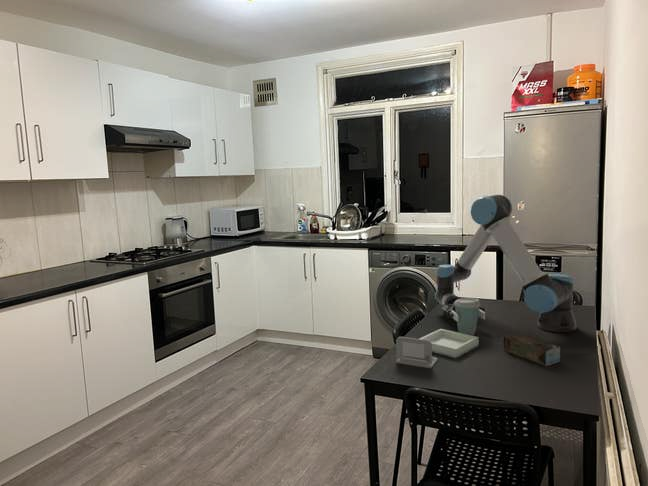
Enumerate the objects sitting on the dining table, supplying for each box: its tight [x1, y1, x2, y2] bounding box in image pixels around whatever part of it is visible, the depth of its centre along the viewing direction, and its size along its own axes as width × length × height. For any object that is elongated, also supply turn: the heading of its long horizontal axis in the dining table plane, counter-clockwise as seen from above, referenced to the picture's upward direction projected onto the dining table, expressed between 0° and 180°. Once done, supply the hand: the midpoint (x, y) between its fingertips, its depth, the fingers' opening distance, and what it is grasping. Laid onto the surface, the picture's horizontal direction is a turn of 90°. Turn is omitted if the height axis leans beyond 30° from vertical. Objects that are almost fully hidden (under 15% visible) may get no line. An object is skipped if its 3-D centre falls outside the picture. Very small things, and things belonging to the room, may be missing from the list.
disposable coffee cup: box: [454, 297, 482, 336], centre depth 207 cm, size 11×11×15 cm
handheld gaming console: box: [395, 336, 438, 369], centre depth 180 cm, size 13×9×10 cm
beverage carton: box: [503, 331, 561, 367], centre depth 181 cm, size 8×19×7 cm, turn 28°
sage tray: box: [419, 328, 480, 359], centre depth 194 cm, size 17×17×4 cm
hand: (470, 317), depth 203 cm, fingers closed on disposable coffee cup, 11 cm apart
